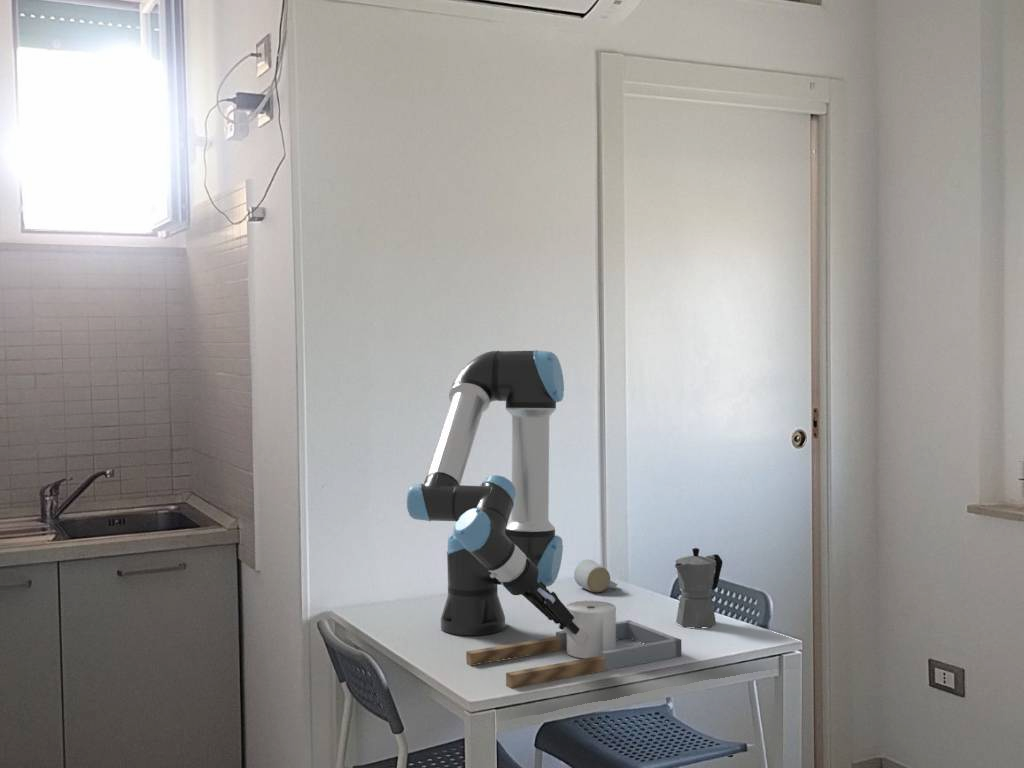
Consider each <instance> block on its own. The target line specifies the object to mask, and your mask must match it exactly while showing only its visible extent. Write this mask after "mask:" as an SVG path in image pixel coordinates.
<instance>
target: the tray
mask: <svg viewBox="0 0 1024 768" xmlns="http://www.w3.org/2000/svg"><path fill="white" fill-rule="evenodd" d="M566 636H567V634H566V632H565V631H564V630H560V631H555V637H558V638H560V639H561V650H564V649H566V650H567V639H566ZM627 637H628V638H627ZM621 638H623V639H629V638H630V640H632V639H633V640H632V641H634V640H636V641H635V642H637V641H638V642H637V643H639V642H641V643H640V644H637V645H630V646H624V647H619V648H616V649H613V650H607V651H602V652H601V657H603V658H605V671H609V670H614V669H620V668H625V667H631V666H634V665H635V666H636V665H642V664H645V663H651V662H657V661H663V660H667V659H672V658H673V659H674V658H678V657H679V658H680V657H682V639H681V638H677V637H675V636H674V635H673V636H672V635H670V634H668V633H665V632H662V631H659V630H656V629H654V628H651V627H649V626H646V625H643V624H640V623H638V622H636V621H633V620H629V619H628V620H626V619H625V620H621V621H616V639H618V640H621ZM642 643H644V644H642Z"/></svg>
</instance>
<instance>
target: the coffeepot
mask: <svg viewBox="0 0 1024 768" xmlns="http://www.w3.org/2000/svg"><path fill="white" fill-rule="evenodd" d="M691 551H692V554H693V555H689V556H684V557H683V556H681V557H679V558H678V559H676V560H675V564H674V567H675V568H676V573H677V579H678V586H679V589H681V595H680V596H679V600H678V601H679V603H678V608H677V615H676V620H675V622H677V623H678V624H680V625H682V626H686V627H694V628H702V627H710V628H712V627H711V626H713V625H714V624H715V623H717V620H716V615H715V609H714V604H713V598H712V597H711V590H715V589H717V588H718V584H719V579H720V577H721V576H720V575H721V572H722V567H723V560H722V558H721V557H720V555H719V554H710V555H706V556H701V555H699V553H700V548H697V547H695V548H692V549H691ZM677 623H676V624H677ZM678 624H677V625H678ZM680 625H679V626H680ZM682 626H681V627H682ZM714 626H715V625H714ZM714 626H713V627H714ZM686 627H685V628H686Z"/></svg>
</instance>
